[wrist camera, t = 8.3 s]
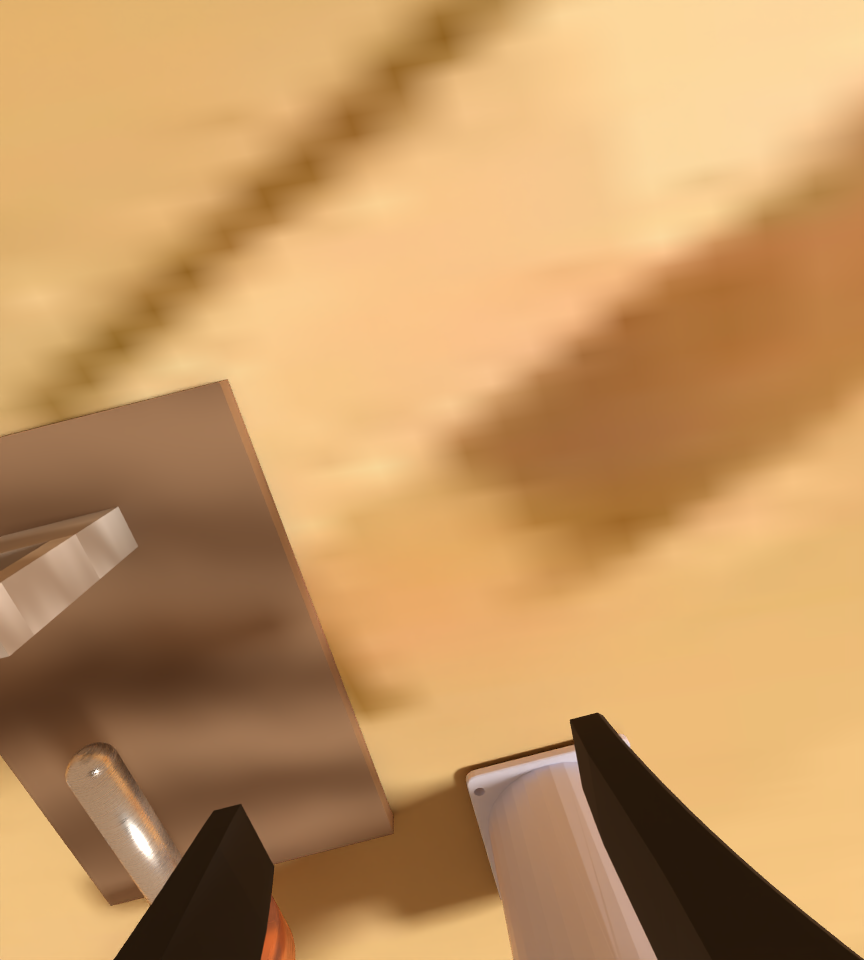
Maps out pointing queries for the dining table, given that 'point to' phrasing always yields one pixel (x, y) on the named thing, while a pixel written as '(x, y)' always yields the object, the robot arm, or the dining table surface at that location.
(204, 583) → the board
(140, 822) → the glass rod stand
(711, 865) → the robot arm
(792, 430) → the dining table surface
